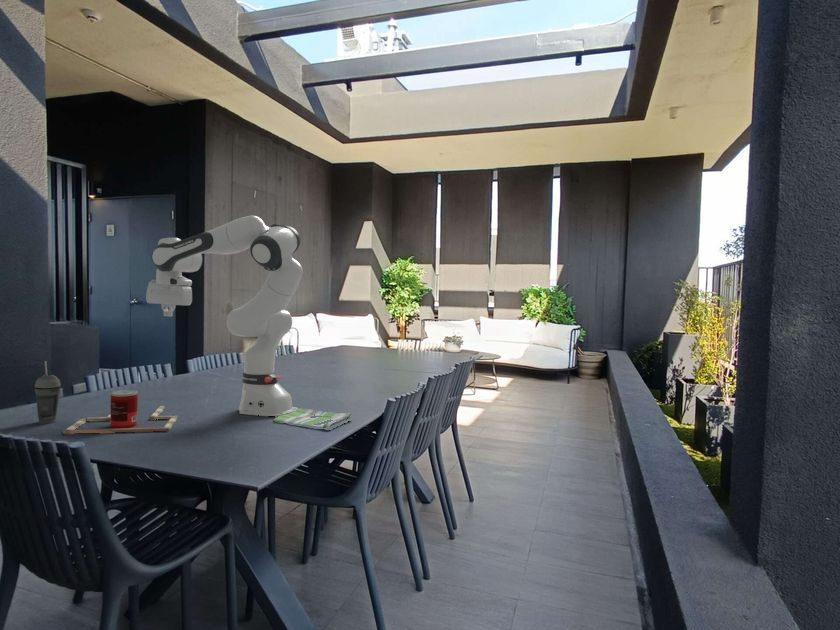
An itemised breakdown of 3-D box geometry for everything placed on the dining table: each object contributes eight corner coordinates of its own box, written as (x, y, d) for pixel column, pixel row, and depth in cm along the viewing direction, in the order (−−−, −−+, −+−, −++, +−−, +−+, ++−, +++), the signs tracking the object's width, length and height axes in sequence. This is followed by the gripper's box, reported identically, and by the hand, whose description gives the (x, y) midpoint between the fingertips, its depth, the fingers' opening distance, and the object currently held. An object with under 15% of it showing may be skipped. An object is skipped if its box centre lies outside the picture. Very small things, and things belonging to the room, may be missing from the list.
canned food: (135, 421, 177) (135, 389, 177) (139, 426, 171) (139, 393, 170) (108, 424, 172) (109, 390, 172) (112, 429, 166) (112, 395, 166)
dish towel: (328, 433, 175) (328, 422, 174) (271, 424, 183) (271, 414, 183) (353, 422, 191) (353, 412, 190) (299, 414, 199) (300, 404, 199)
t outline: (97, 409, 190) (97, 407, 190) (184, 408, 198) (184, 405, 198) (63, 434, 159) (63, 431, 159) (168, 431, 167) (168, 428, 167)
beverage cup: (43, 425, 167) (44, 363, 166) (28, 423, 170) (28, 361, 169) (66, 420, 174) (66, 360, 173) (50, 418, 176) (51, 359, 176)
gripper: (142, 279, 202) (141, 315, 202) (182, 280, 194) (181, 318, 195) (156, 279, 208) (155, 314, 208) (195, 281, 200) (194, 317, 201)
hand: (168, 316), depth 201 cm, fingers closed
